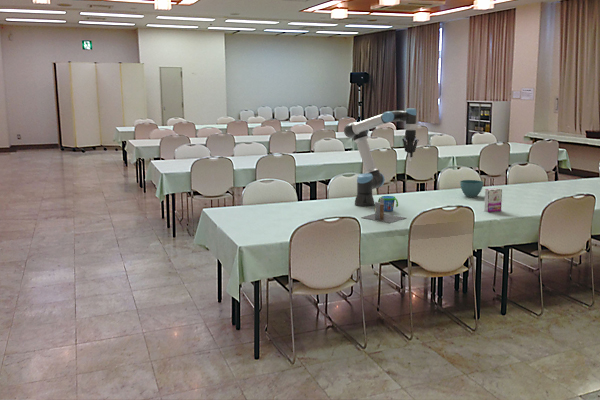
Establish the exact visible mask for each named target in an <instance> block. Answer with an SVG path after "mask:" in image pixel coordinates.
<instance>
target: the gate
mask: <svg viewBox="0 0 600 400" xmlns="http://www.w3.org/2000/svg"><path fill="white" fill-rule="evenodd" d="M384 212H385V211H384V204H380V219H381V220H383V215H384V214H385V213H384Z"/></svg>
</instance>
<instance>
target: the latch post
mask: <svg viewBox="0 0 600 400" xmlns="http://www.w3.org/2000/svg"><path fill="white" fill-rule="evenodd" d="M374 214H375V220H379V216H380V202H378V201H374Z"/></svg>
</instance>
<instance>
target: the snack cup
mask: <svg viewBox="0 0 600 400" xmlns="http://www.w3.org/2000/svg"><path fill="white" fill-rule="evenodd" d="M380 198H384V212H392V211H393V210H394V207H396V208H398V207H399V201H398V199H397V198H396V196H395V195H394V196H393V195H381V196H380V197H379V198H378V200H377V202H380ZM395 203H396V204H395Z"/></svg>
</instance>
